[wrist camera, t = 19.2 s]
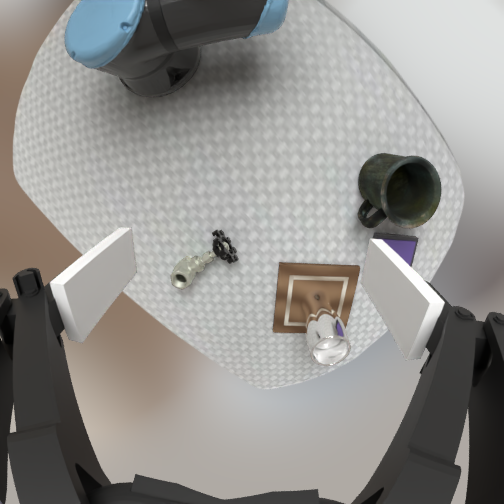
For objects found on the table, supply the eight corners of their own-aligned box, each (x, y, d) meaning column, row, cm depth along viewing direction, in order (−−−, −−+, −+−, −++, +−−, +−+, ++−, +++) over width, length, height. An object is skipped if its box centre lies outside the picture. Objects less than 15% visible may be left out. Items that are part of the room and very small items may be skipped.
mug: (416, 182, 46) (451, 195, 35) (366, 232, 50) (391, 257, 39) (384, 138, 43) (417, 140, 32) (330, 191, 47) (350, 207, 36)
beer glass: (320, 320, 57) (335, 370, 43) (292, 308, 56) (301, 360, 42) (339, 294, 54) (360, 342, 40) (310, 281, 53) (326, 329, 39)
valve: (190, 282, 55) (239, 252, 52) (182, 299, 49) (237, 267, 46) (170, 256, 53) (219, 224, 50) (159, 271, 47) (213, 236, 44)
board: (279, 262, 53) (279, 265, 52) (358, 265, 53) (360, 268, 52) (272, 329, 59) (273, 332, 58) (343, 329, 59) (344, 333, 58)
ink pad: (374, 232, 50) (377, 235, 48) (415, 236, 50) (419, 238, 48) (364, 279, 54) (367, 282, 52) (404, 279, 54) (407, 283, 52)
